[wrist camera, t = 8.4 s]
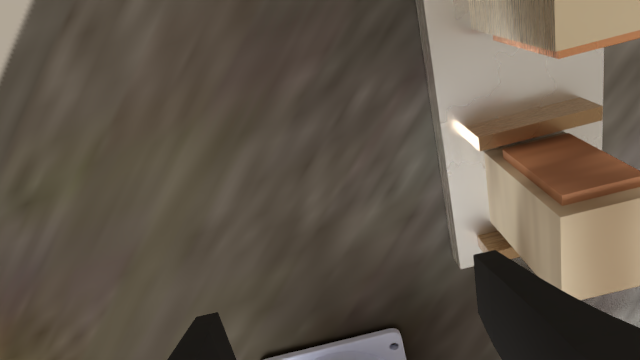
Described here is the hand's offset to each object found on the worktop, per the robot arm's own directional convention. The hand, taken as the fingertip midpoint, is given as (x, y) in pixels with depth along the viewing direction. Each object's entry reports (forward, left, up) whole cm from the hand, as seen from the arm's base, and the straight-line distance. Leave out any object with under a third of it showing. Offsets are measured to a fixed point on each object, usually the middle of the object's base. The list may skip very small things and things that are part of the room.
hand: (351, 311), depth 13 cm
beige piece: (+1, -9, -9) cm, 13 cm away
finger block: (-2, -9, -8) cm, 12 cm away
